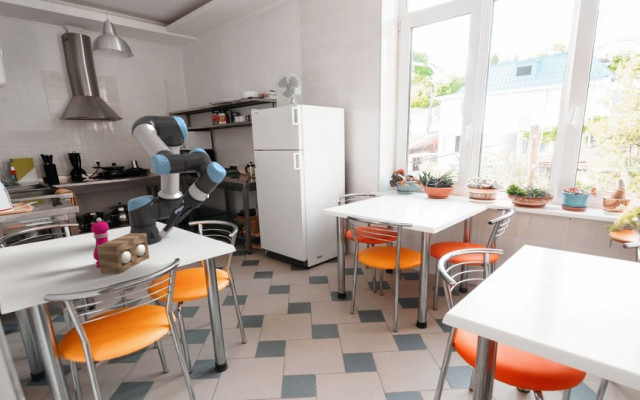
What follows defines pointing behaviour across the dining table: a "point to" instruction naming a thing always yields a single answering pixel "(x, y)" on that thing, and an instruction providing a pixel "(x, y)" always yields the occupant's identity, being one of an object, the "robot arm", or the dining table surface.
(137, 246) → the inner knob
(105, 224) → the pepper mill
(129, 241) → the walnut block
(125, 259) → the outer knob
